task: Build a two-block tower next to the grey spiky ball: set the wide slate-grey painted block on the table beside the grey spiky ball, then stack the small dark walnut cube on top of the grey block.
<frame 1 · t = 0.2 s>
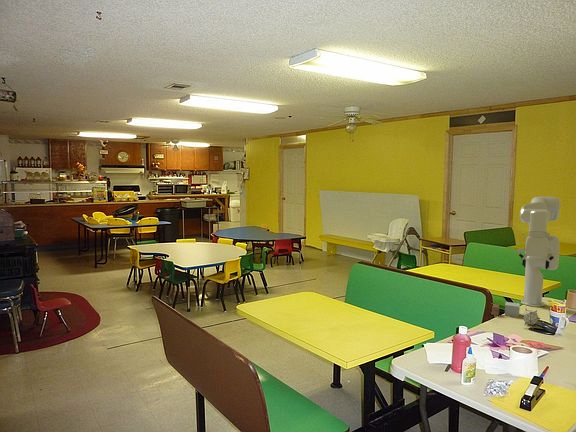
hand: (535, 267, 215), 31 cm above the table, fingers open, 9 cm apart
walnut block: (493, 313, 237), on the table
grey block: (511, 314, 236), on the table
grey spiky ball: (530, 325, 220), on the table
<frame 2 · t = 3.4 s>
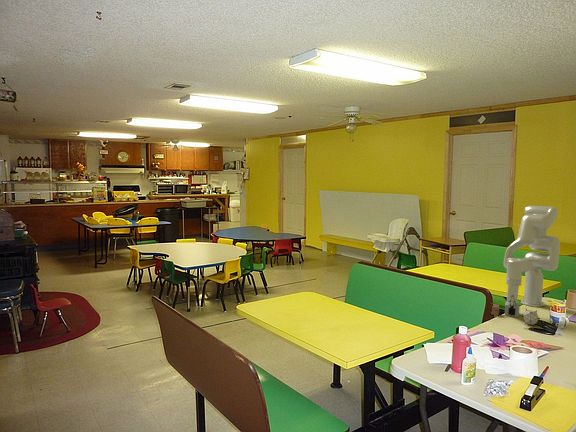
hand: (511, 312, 236), 1 cm above the table, fingers closed on grey block, 7 cm apart
grey block: (511, 314, 236), on the table, touching gripper
everything else where it was.
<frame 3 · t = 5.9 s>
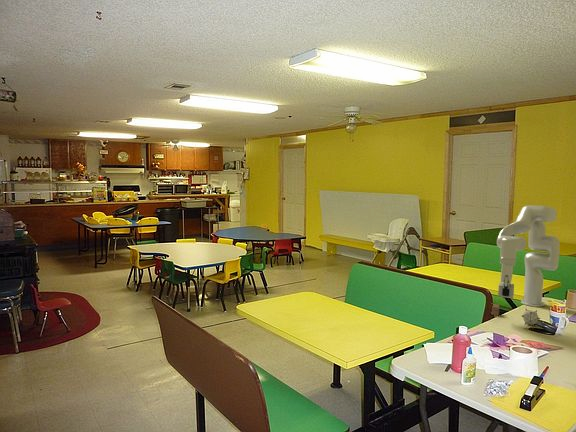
hand: (506, 293, 224), 15 cm above the table, fingers closed on grey block, 7 cm apart
grey block: (505, 295, 224), point 14 cm above the table, touching gripper
everything else where it was.
when the fingers open (2 cm above the table, at t = 8.6 s): grey block drops 1 cm, on the table.
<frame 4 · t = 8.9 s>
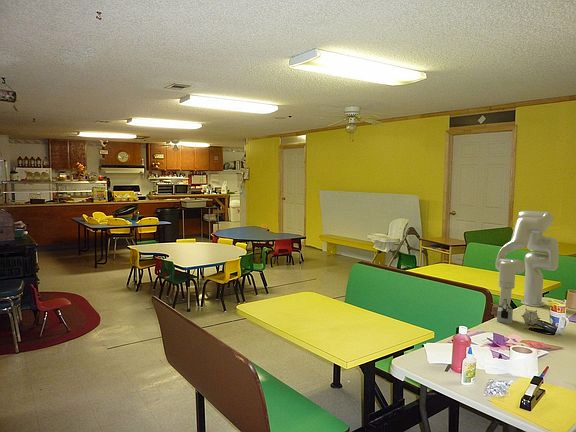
hand: (504, 315, 225), 3 cm above the table, fingers open, 9 cm apart
grey block: (504, 321, 226), on the table
everything else where it was.
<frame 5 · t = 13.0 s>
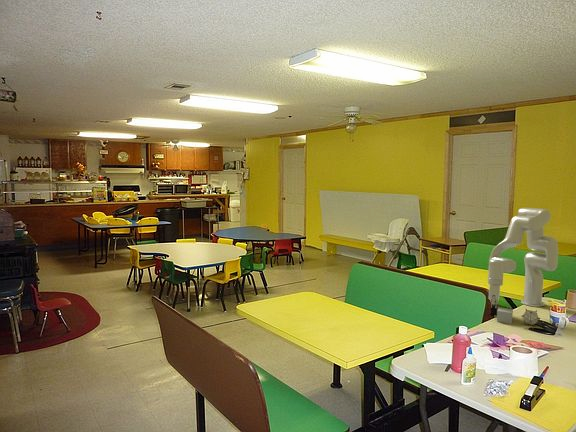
hand: (493, 312, 237), 0 cm above the table, fingers closed on walnut block, 5 cm apart
walnut block: (493, 313, 237), on the table, touching gripper
everything else where it was.
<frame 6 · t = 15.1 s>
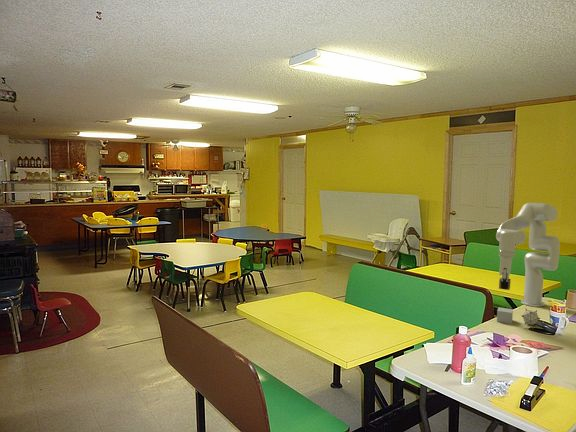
hand: (504, 287, 225), 18 cm above the table, fingers closed on walnut block, 4 cm apart
walnut block: (504, 288, 225), point 17 cm above the table, touching gripper
everything else where it was.
when the fingers open (7 cm above the table, at t = 17.5 s): walnut block stays where it is, resting on grey block.
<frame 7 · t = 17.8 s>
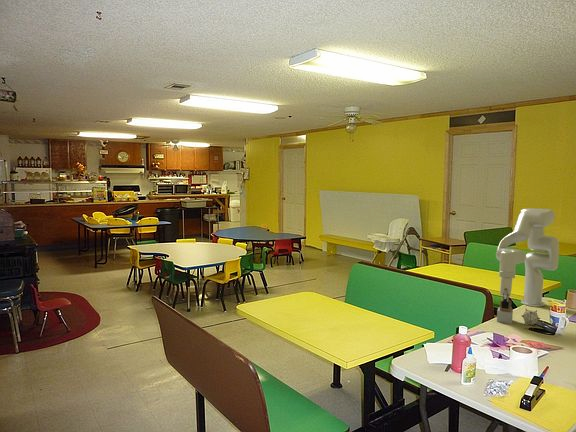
hand: (505, 306, 225), 8 cm above the table, fingers open, 8 cm apart
walnut block: (505, 310, 225), point 6 cm above the table, touching grey block
grey block: (504, 320, 226), on the table, touching walnut block
everything else where it was.
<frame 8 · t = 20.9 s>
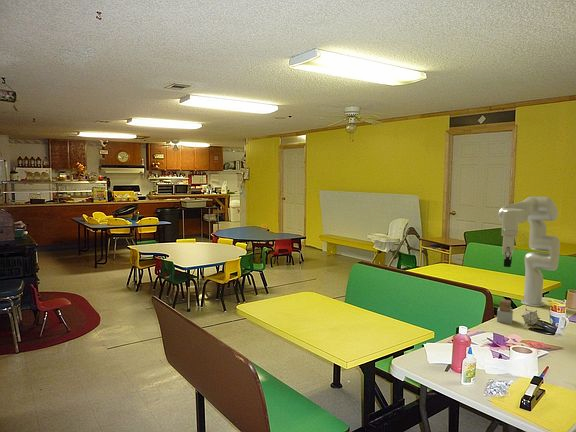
hand: (507, 265, 223), 30 cm above the table, fingers open, 9 cm apart
nothing on the table moved.
at the end: walnut block 0.3 cm off-centre on the grey block, point 6.0 cm above the grey block's base; walnut block tilted 0°; grey block inside the target area on the table beside the grey spiky ball (0.5 cm from its centre), on the table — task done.
